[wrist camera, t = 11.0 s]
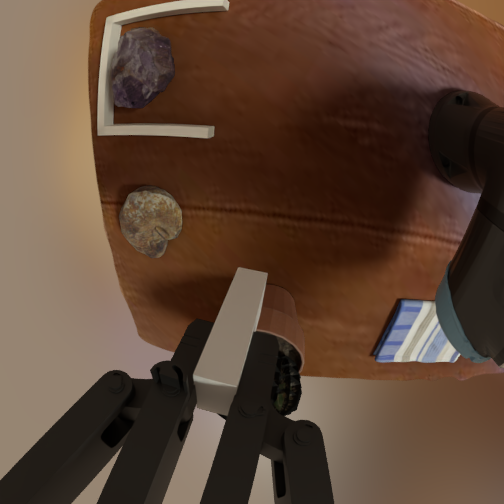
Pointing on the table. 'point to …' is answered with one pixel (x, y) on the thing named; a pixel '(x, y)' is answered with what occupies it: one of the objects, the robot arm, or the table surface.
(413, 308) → the dish towel
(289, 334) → the potted plant
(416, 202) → the table surface
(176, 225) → the oyster shell
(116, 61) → the rock
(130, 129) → the bay
